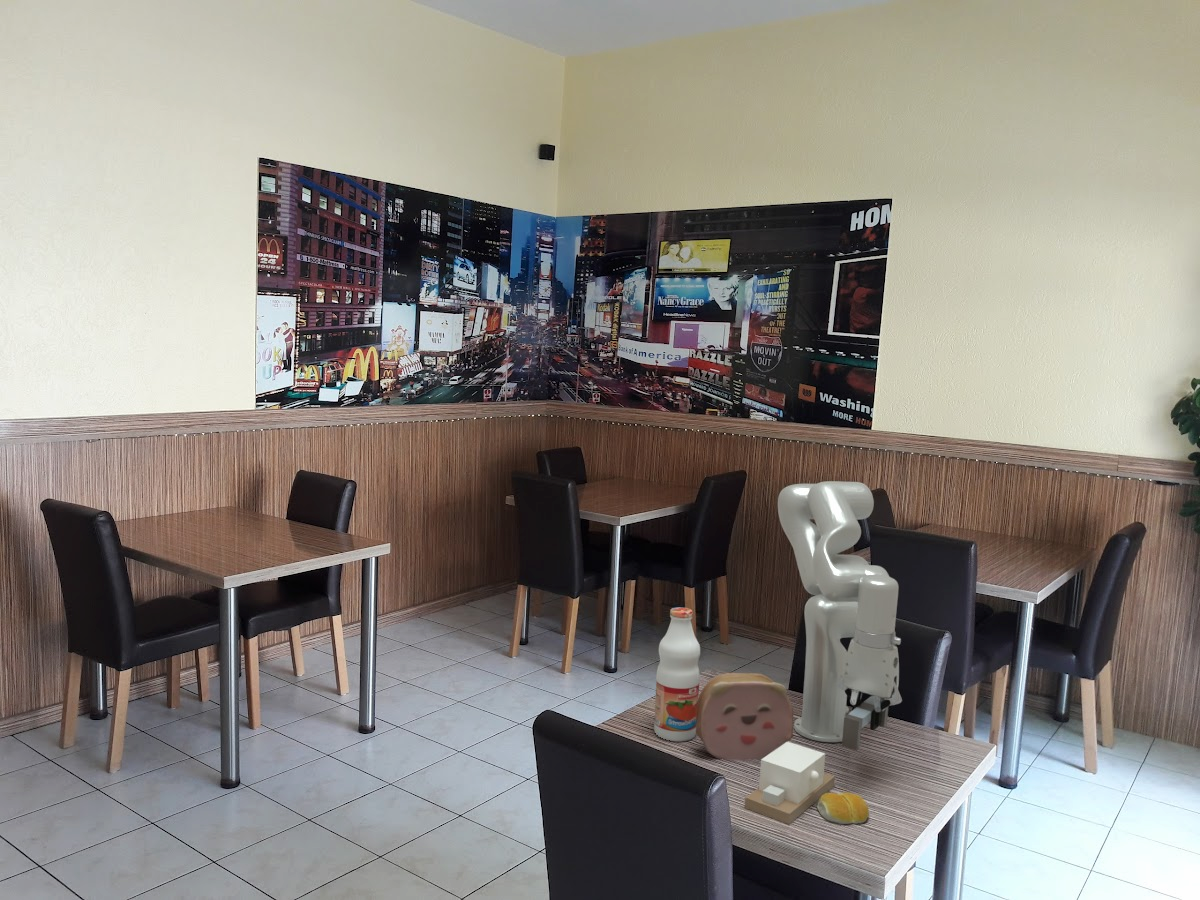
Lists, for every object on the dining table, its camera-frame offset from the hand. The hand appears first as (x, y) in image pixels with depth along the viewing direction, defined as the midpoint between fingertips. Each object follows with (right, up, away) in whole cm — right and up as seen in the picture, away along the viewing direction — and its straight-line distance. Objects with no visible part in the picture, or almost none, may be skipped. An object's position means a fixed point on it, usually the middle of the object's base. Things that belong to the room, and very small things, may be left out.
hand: (865, 724), depth 187 cm
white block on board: (-17, -11, -9) cm, 22 cm away
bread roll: (-9, -13, -15) cm, 21 cm away
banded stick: (0, -2, 0) cm, 2 cm away
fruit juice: (-37, -8, +18) cm, 42 cm away
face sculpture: (-24, -9, +9) cm, 27 cm away
